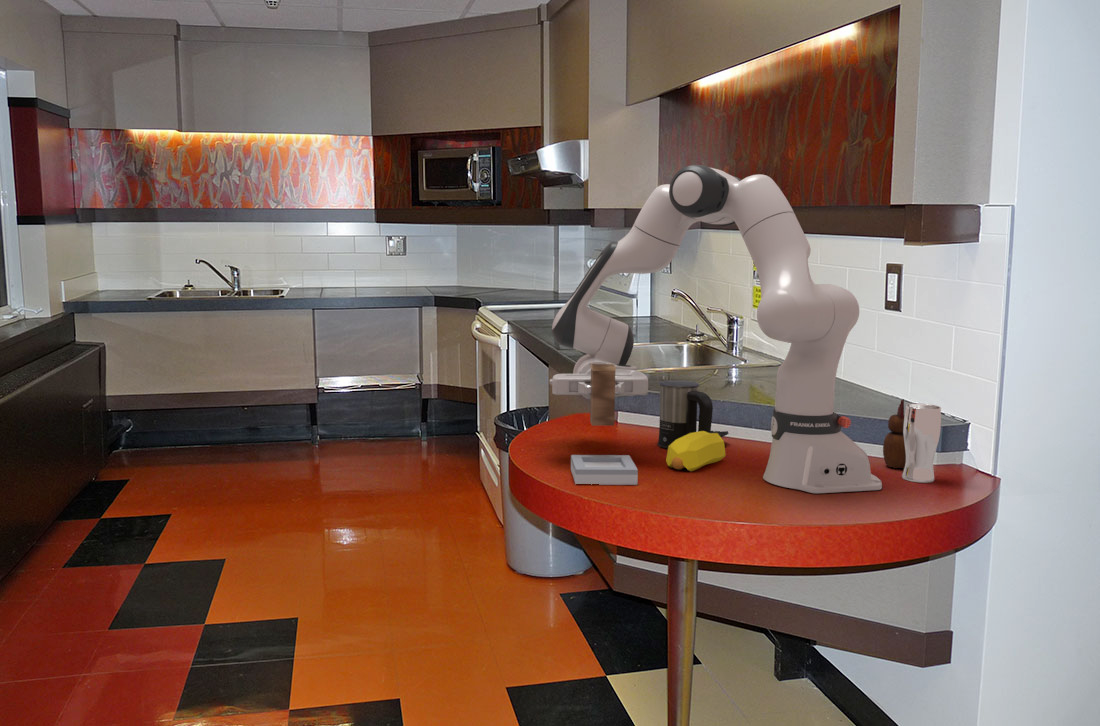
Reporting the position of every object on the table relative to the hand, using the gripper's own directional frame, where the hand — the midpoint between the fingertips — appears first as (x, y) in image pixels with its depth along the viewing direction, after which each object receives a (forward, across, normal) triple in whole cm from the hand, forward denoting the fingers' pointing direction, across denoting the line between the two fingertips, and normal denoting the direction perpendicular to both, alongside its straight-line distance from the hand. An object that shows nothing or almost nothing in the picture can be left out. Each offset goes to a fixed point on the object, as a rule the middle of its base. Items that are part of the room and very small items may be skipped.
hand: (603, 390), depth 186 cm
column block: (-1, 0, +7) cm, 7 cm away
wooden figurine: (-4, +64, +17) cm, 66 cm away
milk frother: (-24, +24, +17) cm, 38 cm away
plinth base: (+5, 0, +17) cm, 17 cm away
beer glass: (+6, +64, +17) cm, 66 cm away
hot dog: (-6, +21, +17) cm, 28 cm away
